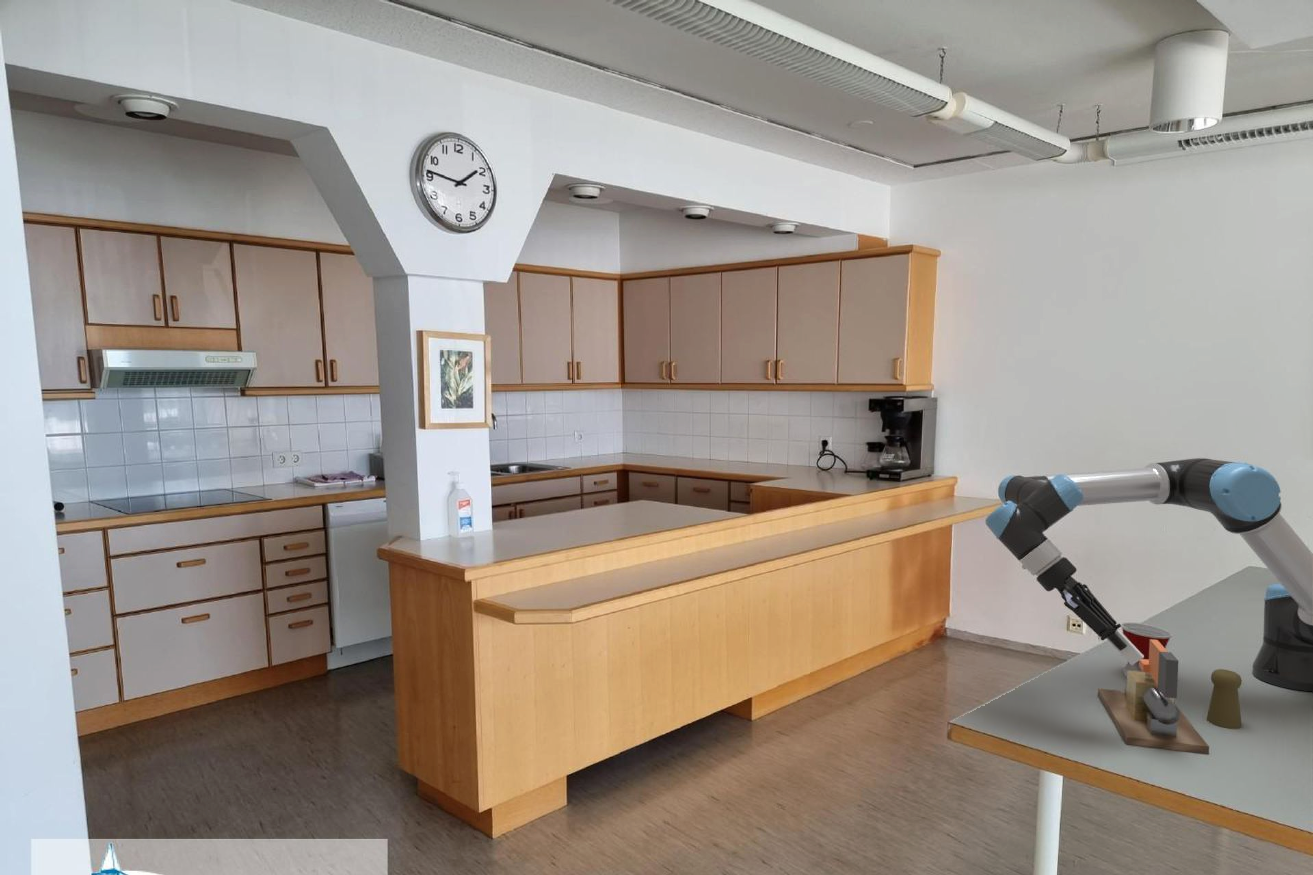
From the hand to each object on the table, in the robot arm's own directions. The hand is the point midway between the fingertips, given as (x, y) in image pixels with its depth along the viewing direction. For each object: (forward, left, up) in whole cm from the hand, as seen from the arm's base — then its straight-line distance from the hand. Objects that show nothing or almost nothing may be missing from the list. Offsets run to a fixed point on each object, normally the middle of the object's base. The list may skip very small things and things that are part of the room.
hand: (1137, 660), depth 161 cm
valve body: (-3, -11, -15) cm, 18 cm away
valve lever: (-4, -4, -6) cm, 9 cm away
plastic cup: (-4, -41, -16) cm, 44 cm away
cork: (-17, -18, -16) cm, 29 cm away
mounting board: (-3, -11, -16) cm, 19 cm away
